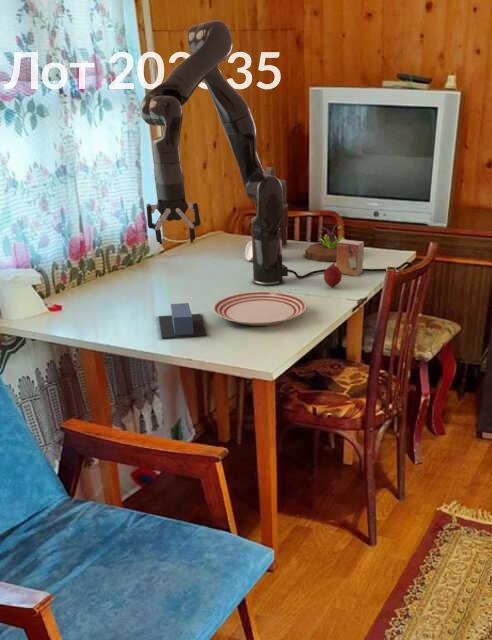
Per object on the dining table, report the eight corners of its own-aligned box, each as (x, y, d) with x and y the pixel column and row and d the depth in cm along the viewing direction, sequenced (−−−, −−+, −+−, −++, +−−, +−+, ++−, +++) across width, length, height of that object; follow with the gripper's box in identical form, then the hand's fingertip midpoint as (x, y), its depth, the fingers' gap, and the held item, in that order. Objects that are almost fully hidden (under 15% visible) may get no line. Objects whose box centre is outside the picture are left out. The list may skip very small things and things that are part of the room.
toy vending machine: (283, 249, 283) (282, 170, 268) (257, 246, 286) (254, 168, 271) (292, 244, 291) (291, 166, 275) (266, 241, 294) (264, 164, 278)
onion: (339, 290, 241) (339, 265, 236) (322, 289, 242) (322, 264, 237) (342, 285, 245) (343, 261, 241) (325, 284, 246) (326, 259, 242)
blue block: (173, 317, 199) (170, 303, 209) (175, 335, 202) (172, 321, 212) (192, 316, 200) (188, 302, 210) (193, 334, 203) (190, 320, 213)
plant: (349, 264, 268) (350, 232, 261) (299, 259, 273) (299, 227, 266) (365, 251, 283) (366, 221, 277) (317, 246, 288) (318, 216, 282)
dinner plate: (270, 338, 202) (270, 326, 201) (194, 319, 214) (193, 308, 212) (324, 312, 222) (324, 301, 220) (251, 296, 234) (251, 285, 232)
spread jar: (285, 259, 272) (284, 226, 266) (266, 265, 264) (265, 231, 258) (259, 254, 277) (258, 221, 271) (240, 260, 269) (238, 227, 263)
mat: (200, 315, 218) (200, 313, 218) (206, 336, 203) (206, 334, 203) (158, 317, 215) (158, 316, 215) (162, 338, 201) (161, 337, 201)
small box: (335, 273, 258) (336, 242, 252) (341, 269, 262) (342, 238, 256) (357, 276, 255) (358, 244, 249) (362, 272, 260) (364, 241, 254)
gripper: (194, 176, 203) (200, 238, 212) (141, 178, 199) (149, 241, 209) (197, 181, 197) (203, 244, 206) (142, 184, 193) (151, 247, 202)
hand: (176, 242), depth 207 cm, fingers open, 8 cm apart
